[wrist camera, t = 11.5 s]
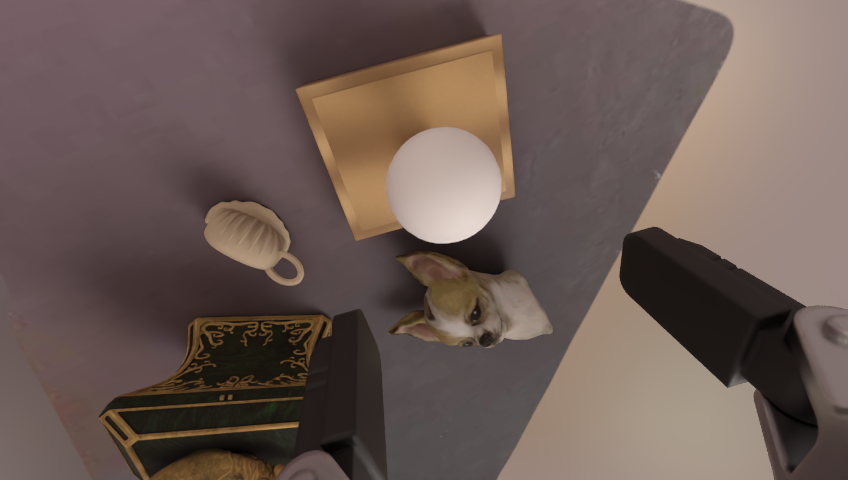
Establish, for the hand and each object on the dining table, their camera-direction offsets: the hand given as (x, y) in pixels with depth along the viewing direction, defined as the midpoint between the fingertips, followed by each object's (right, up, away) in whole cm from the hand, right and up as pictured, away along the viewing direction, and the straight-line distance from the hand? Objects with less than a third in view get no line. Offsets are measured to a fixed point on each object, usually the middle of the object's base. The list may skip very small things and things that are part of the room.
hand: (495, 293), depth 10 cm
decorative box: (-21, -9, +25) cm, 34 cm away
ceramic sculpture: (+2, -3, +26) cm, 26 cm away
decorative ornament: (-17, +3, +19) cm, 26 cm away
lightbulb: (-2, +8, +15) cm, 17 cm away
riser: (-3, +10, +17) cm, 20 cm away
